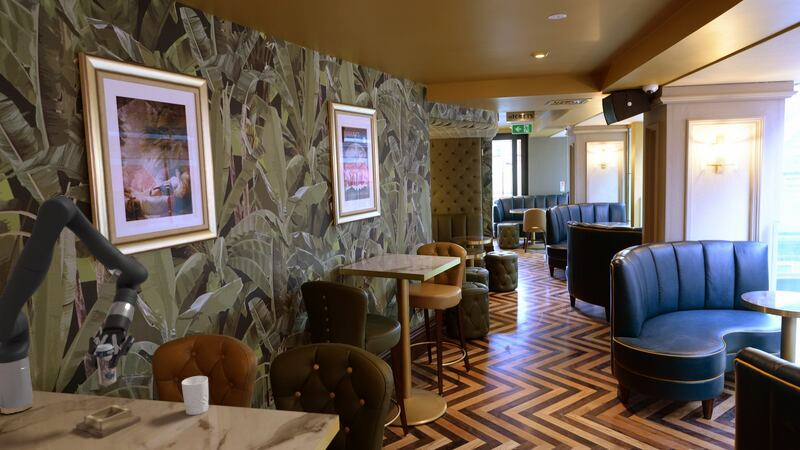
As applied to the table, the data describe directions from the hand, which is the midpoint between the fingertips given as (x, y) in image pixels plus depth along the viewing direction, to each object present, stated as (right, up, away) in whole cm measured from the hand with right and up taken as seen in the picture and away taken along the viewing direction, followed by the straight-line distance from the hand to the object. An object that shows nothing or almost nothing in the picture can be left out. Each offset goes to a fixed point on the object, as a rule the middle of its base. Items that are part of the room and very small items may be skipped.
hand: (103, 367), depth 168 cm
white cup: (+26, -16, +8) cm, 31 cm away
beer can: (0, -6, +2) cm, 6 cm away
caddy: (+2, -17, 0) cm, 18 cm away
